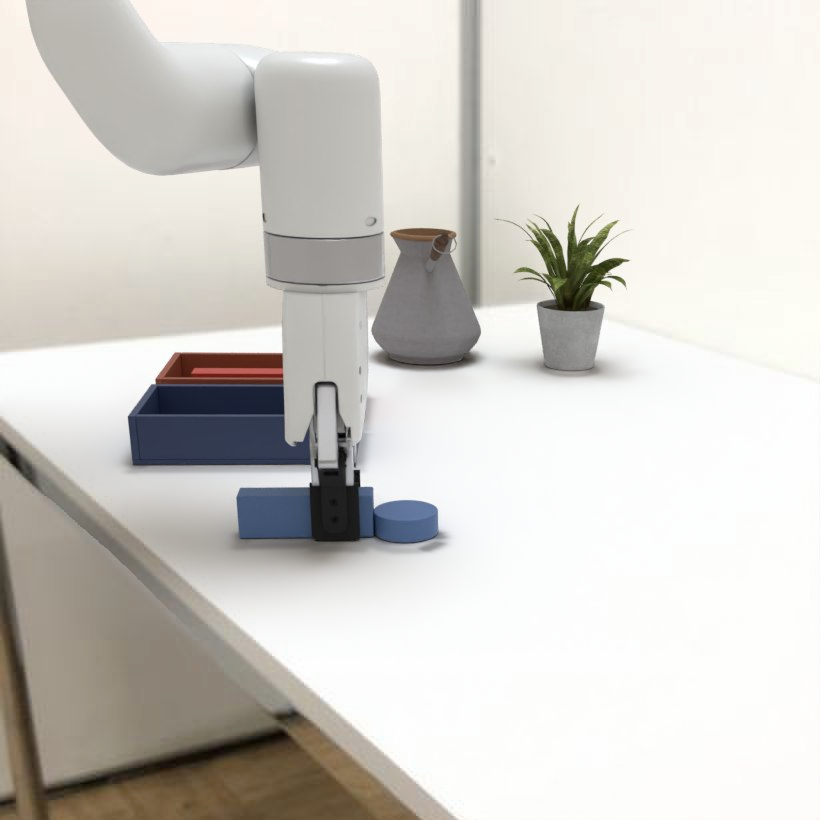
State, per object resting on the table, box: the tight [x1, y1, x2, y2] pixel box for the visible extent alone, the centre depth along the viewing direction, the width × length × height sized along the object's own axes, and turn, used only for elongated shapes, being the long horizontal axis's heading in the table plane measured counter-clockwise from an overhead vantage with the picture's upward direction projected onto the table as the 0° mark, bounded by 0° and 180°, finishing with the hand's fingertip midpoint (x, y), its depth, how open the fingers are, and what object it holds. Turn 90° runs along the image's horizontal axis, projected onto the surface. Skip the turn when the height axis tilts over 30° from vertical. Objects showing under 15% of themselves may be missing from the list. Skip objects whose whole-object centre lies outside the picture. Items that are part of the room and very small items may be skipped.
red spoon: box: [191, 368, 283, 378], centre depth 122 cm, size 13×4×3 cm, turn 97°
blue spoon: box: [235, 486, 439, 544], centre depth 93 cm, size 13×4×3 cm, turn 97°
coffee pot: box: [370, 227, 482, 365], centre depth 136 cm, size 21×12×15 cm, turn 14°
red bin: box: [154, 351, 284, 385], centre depth 122 cm, size 17×10×4 cm, turn 97°
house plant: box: [495, 203, 634, 371], centre depth 139 cm, size 14×14×16 cm
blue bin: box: [127, 383, 360, 466], centre depth 111 cm, size 17×10×4 cm, turn 97°
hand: (337, 530), depth 94 cm, fingers closed on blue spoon, 2 cm apart
